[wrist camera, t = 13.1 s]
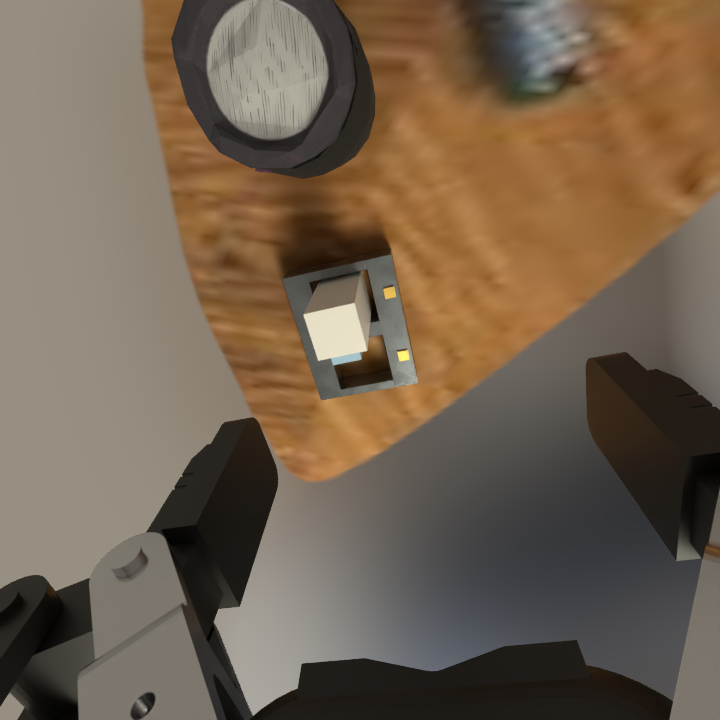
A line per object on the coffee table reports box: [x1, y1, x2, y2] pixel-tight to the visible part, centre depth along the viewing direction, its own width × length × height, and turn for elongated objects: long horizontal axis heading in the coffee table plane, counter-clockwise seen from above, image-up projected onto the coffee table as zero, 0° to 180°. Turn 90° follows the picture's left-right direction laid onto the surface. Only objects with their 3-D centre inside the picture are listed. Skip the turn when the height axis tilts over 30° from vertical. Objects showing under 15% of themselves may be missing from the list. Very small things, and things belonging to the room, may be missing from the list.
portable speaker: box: [171, 0, 375, 179], centre depth 27 cm, size 9×9×20 cm
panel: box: [282, 248, 418, 400], centre depth 43 cm, size 13×10×3 cm
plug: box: [303, 270, 372, 365], centre depth 39 cm, size 5×4×10 cm
